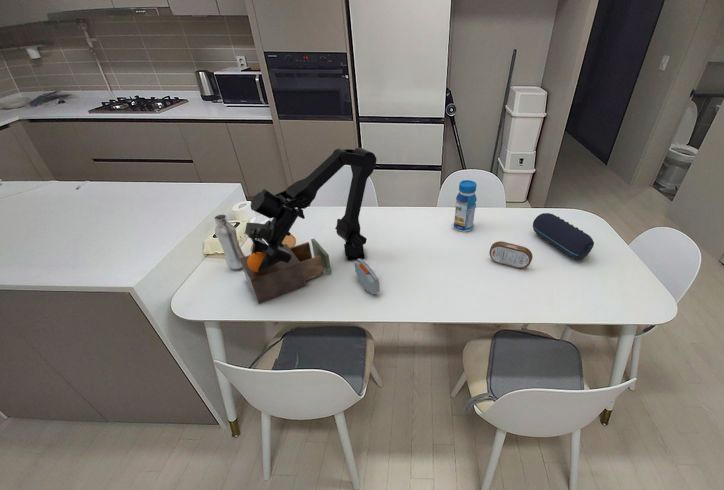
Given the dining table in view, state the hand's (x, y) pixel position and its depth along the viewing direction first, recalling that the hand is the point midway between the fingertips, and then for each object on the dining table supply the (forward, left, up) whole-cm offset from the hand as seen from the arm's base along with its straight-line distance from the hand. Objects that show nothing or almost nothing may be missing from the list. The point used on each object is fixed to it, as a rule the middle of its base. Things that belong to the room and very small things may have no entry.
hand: (255, 267), depth 107 cm
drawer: (-13, -9, -10) cm, 20 cm away
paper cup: (+1, -26, -12) cm, 28 cm away
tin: (-85, +1, -12) cm, 86 cm away
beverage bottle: (-78, -28, -12) cm, 84 cm away
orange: (-1, -1, -2) cm, 2 cm away
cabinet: (-3, -5, -11) cm, 13 cm away
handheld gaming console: (-33, +2, -12) cm, 35 cm away
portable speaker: (-110, -6, -12) cm, 111 cm away
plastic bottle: (+11, -19, -12) cm, 24 cm away
